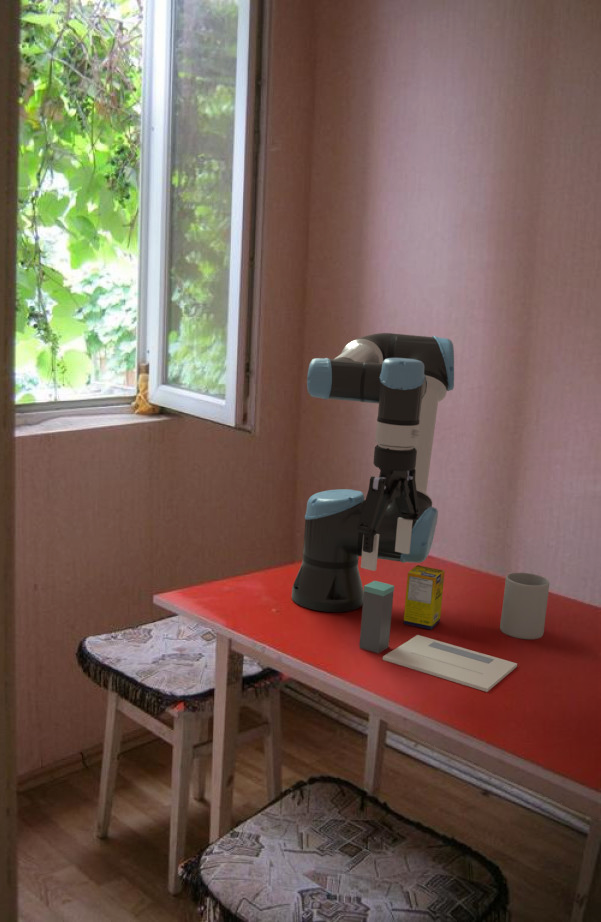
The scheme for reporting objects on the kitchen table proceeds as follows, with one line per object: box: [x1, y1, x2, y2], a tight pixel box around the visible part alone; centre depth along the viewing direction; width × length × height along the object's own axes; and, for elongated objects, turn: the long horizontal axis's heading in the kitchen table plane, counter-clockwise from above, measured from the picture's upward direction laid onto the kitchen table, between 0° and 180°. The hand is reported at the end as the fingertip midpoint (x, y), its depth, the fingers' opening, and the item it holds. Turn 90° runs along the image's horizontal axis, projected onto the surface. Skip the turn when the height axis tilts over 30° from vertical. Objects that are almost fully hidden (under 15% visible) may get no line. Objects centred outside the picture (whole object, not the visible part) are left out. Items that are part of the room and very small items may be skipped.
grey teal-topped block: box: [358, 580, 395, 654], centre depth 175 cm, size 4×4×12 cm
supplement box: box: [403, 564, 446, 630], centre depth 190 cm, size 6×6×11 cm
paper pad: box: [382, 634, 518, 693], centre depth 172 cm, size 20×14×1 cm
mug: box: [499, 572, 550, 640], centre depth 191 cm, size 12×8×11 cm
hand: (385, 560), depth 174 cm, fingers open, 13 cm apart
